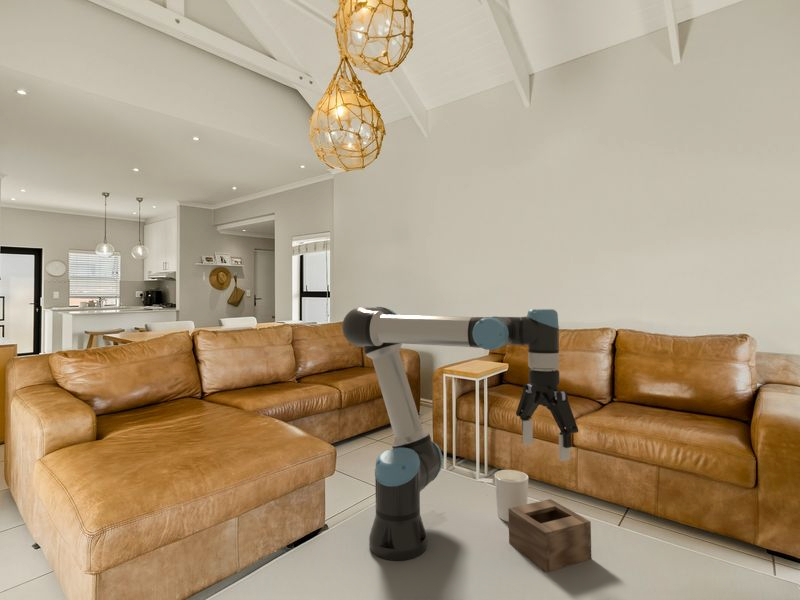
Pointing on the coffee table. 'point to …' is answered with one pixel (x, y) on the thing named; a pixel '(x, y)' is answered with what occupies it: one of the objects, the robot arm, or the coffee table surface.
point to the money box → (550, 534)
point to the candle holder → (510, 491)
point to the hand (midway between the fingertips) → (545, 452)
